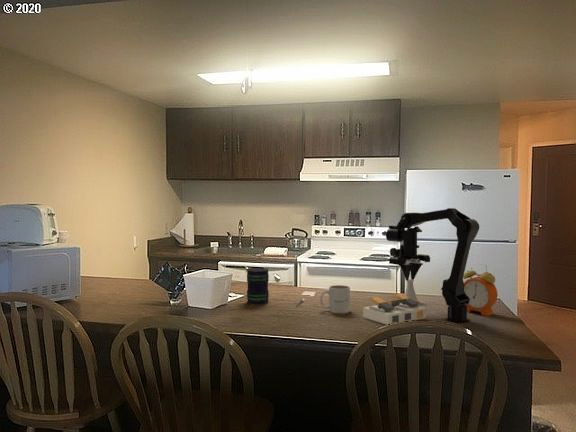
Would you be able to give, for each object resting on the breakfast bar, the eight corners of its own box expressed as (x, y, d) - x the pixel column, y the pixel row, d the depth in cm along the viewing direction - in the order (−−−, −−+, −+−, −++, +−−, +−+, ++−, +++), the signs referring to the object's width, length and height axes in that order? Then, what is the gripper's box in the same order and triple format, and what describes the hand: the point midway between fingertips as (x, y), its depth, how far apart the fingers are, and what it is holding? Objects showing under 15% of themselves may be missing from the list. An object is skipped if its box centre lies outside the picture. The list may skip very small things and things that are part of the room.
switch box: (426, 318, 186) (426, 305, 186) (388, 325, 175) (389, 312, 175) (399, 311, 198) (399, 299, 198) (363, 317, 187) (363, 304, 187)
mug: (349, 308, 202) (349, 285, 202) (349, 313, 194) (349, 289, 193) (320, 307, 204) (321, 284, 203) (319, 312, 195) (319, 288, 195)
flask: (418, 303, 212) (418, 281, 212) (402, 303, 214) (402, 281, 213) (417, 300, 219) (417, 278, 219) (401, 299, 221) (401, 278, 220)
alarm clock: (459, 310, 198) (460, 263, 198) (467, 308, 202) (467, 262, 202) (490, 316, 188) (490, 266, 188) (497, 314, 192) (498, 265, 191)
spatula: (315, 295, 234) (315, 292, 234) (303, 308, 205) (303, 304, 205) (303, 294, 235) (303, 291, 235) (289, 307, 207) (289, 304, 207)
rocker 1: (392, 312, 181) (394, 307, 180) (386, 313, 179) (387, 308, 178) (377, 302, 188) (378, 296, 187) (370, 303, 186) (371, 297, 186)
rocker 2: (406, 305, 183) (405, 298, 184) (400, 306, 181) (399, 299, 182) (390, 306, 191) (389, 300, 191) (384, 307, 189) (383, 301, 189)
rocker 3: (416, 308, 188) (418, 303, 187) (410, 309, 186) (411, 304, 185) (400, 298, 195) (401, 293, 194) (394, 299, 193) (395, 294, 192)
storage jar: (243, 304, 211) (243, 270, 210) (250, 299, 220) (250, 267, 220) (265, 305, 208) (265, 271, 208) (271, 300, 218) (271, 268, 217)
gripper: (411, 240, 209) (411, 275, 209) (379, 242, 199) (379, 279, 199) (431, 242, 199) (430, 279, 200) (399, 244, 190) (398, 283, 190)
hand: (409, 280), depth 198 cm, fingers open, 3 cm apart
